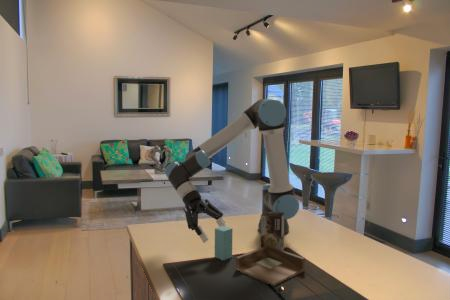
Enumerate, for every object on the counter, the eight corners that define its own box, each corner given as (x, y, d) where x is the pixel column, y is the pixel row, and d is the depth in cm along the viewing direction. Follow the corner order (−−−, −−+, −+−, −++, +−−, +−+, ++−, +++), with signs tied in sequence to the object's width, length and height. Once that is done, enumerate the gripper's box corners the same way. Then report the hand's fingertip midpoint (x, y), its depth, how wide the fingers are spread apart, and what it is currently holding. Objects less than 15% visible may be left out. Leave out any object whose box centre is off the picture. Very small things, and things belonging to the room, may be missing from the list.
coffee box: (284, 249, 164) (285, 212, 162) (281, 254, 158) (282, 216, 156) (263, 246, 166) (264, 210, 165) (259, 251, 160) (260, 214, 159)
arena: (267, 257, 155) (267, 245, 154) (304, 270, 142) (304, 258, 142) (235, 270, 143) (236, 257, 142) (273, 286, 130) (274, 272, 129)
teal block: (223, 253, 158) (223, 225, 157) (232, 257, 155) (232, 228, 153) (214, 257, 155) (214, 228, 153) (223, 260, 151) (223, 231, 150)
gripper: (203, 194, 174) (229, 233, 166) (163, 205, 154) (191, 250, 146) (212, 184, 170) (239, 223, 163) (173, 194, 150) (202, 239, 143)
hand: (217, 236), depth 155 cm, fingers open, 13 cm apart
